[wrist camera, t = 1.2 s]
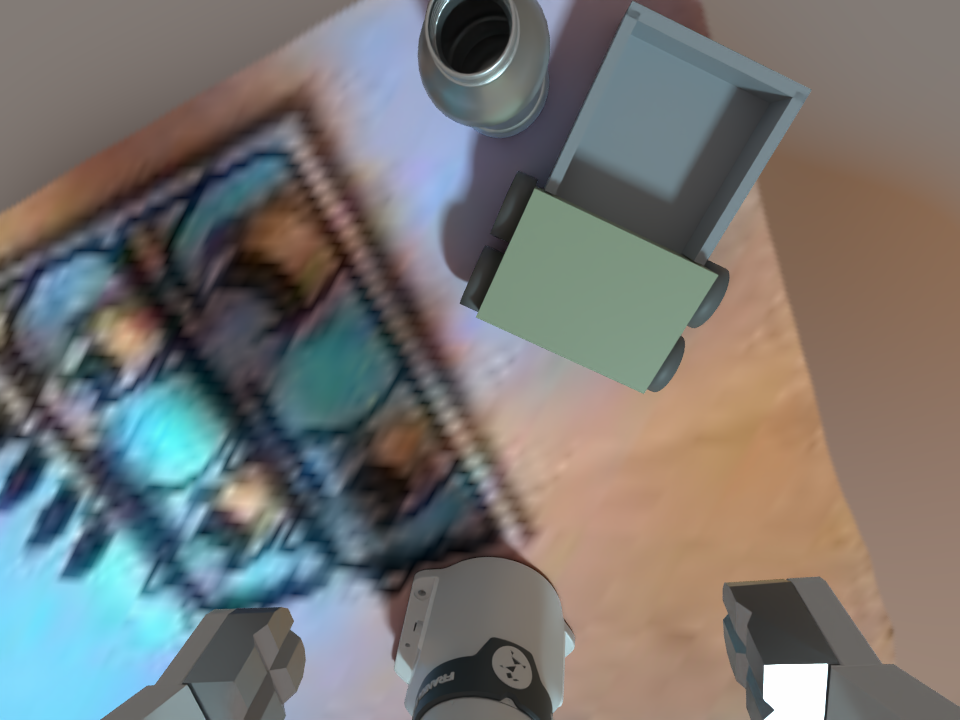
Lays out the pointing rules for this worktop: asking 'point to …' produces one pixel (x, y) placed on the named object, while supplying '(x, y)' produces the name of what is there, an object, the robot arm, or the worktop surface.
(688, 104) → the toy pickup truck
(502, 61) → the silver metal bottle
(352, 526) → the worktop surface
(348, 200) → the worktop surface
